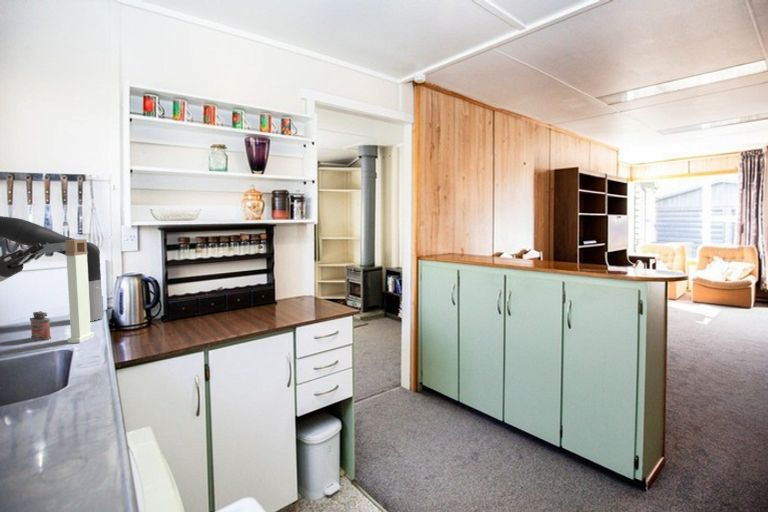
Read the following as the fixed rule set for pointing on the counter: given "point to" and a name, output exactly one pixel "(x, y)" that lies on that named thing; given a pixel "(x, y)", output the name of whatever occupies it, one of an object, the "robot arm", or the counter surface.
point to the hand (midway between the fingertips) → (44, 245)
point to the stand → (78, 290)
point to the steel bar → (51, 248)
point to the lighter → (40, 326)
